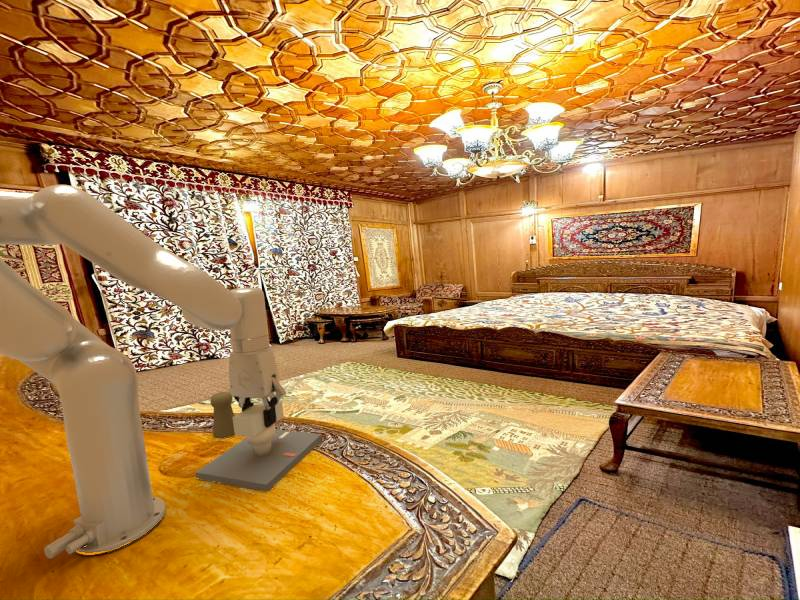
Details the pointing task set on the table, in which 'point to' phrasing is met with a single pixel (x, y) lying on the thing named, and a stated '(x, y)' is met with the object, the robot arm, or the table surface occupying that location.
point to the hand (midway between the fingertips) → (260, 422)
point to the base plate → (260, 460)
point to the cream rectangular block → (256, 423)
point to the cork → (222, 415)
